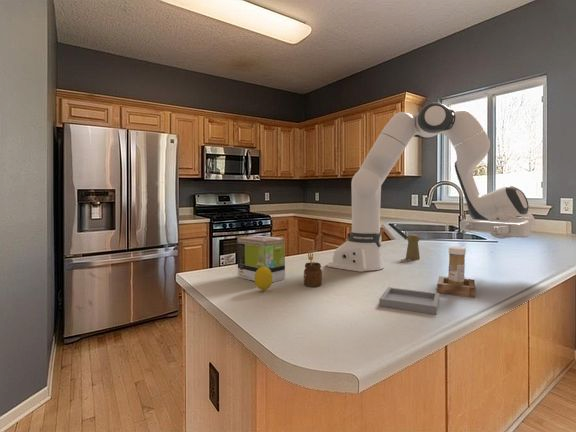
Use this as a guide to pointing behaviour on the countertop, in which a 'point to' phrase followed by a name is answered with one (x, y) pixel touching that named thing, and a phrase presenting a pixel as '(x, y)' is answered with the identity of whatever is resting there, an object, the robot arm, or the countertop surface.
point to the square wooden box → (456, 287)
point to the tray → (410, 300)
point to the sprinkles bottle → (456, 265)
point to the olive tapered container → (412, 247)
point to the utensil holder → (312, 272)
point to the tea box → (261, 256)
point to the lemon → (263, 278)
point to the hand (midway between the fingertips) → (480, 228)
